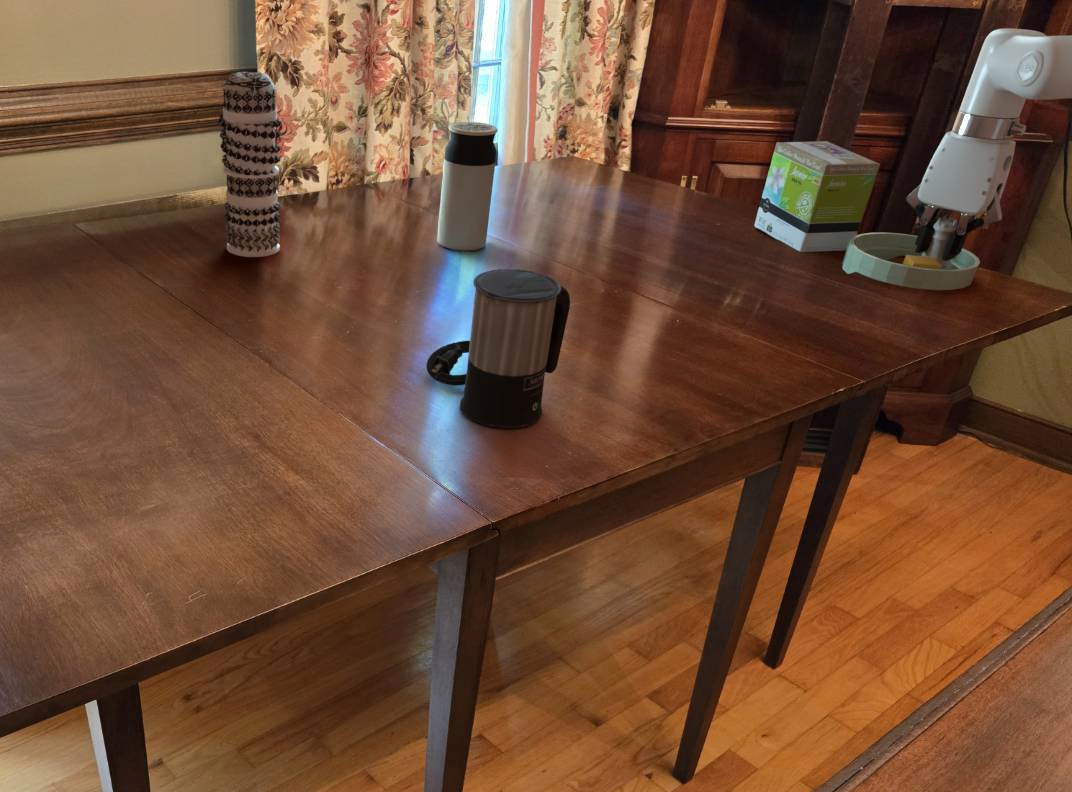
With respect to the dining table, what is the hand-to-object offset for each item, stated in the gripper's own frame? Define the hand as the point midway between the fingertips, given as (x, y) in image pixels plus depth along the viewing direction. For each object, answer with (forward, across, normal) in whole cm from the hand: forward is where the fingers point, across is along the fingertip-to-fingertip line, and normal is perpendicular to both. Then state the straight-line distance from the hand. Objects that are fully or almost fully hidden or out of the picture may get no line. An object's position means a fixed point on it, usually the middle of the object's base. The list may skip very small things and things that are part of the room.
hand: (935, 254), depth 147 cm
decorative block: (+4, 0, +5) cm, 6 cm away
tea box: (+5, +23, -3) cm, 23 cm away
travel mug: (+5, +53, +49) cm, 72 cm away
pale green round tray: (+5, +3, +1) cm, 5 cm away
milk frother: (+5, +11, +86) cm, 87 cm away
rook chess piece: (+3, 0, -1) cm, 3 cm away
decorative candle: (+4, +69, +79) cm, 105 cm away
